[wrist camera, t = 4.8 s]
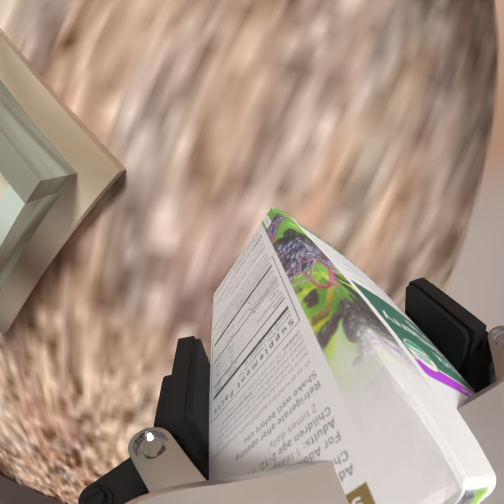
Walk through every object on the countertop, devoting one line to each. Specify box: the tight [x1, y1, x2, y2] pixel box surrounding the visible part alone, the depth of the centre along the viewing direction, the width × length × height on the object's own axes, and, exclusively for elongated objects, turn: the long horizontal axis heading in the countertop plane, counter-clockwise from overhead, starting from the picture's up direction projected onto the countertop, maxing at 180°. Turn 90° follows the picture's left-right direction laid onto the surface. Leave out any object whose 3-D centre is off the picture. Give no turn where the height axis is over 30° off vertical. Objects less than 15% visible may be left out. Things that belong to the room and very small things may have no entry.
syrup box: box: [209, 207, 496, 504], centre depth 10 cm, size 6×6×14 cm
